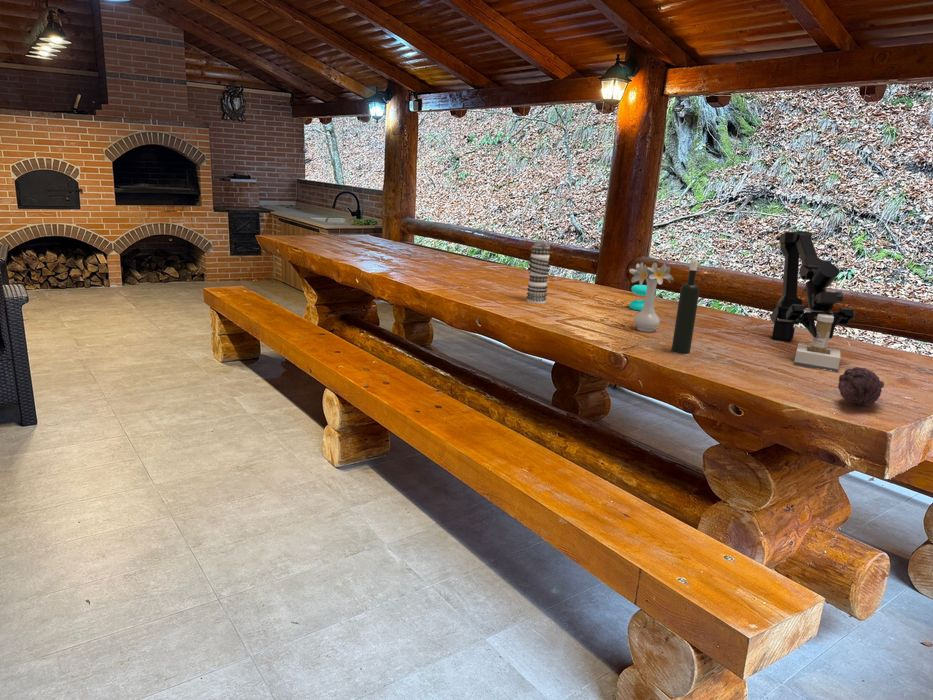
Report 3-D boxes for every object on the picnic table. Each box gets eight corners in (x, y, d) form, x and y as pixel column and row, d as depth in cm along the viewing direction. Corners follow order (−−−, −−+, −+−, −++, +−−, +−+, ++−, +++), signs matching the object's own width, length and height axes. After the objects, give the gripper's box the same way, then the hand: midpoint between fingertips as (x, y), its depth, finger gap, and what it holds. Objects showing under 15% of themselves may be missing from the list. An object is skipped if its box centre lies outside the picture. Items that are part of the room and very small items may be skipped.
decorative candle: (523, 299, 282) (527, 241, 276) (543, 299, 284) (548, 242, 277) (528, 303, 274) (533, 244, 267) (549, 303, 275) (555, 245, 269)
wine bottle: (691, 351, 211) (705, 259, 203) (687, 354, 206) (702, 261, 198) (673, 348, 213) (687, 257, 205) (669, 351, 209) (683, 259, 201)
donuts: (635, 283, 279) (658, 286, 275) (632, 305, 282) (655, 309, 277) (628, 286, 271) (652, 289, 266) (626, 309, 274) (649, 312, 269)
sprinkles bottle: (806, 355, 204) (815, 314, 200) (813, 353, 206) (822, 312, 203) (821, 359, 200) (830, 317, 196) (828, 357, 203) (837, 315, 199)
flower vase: (637, 322, 248) (646, 258, 242) (675, 334, 233) (685, 265, 227) (612, 325, 241) (620, 258, 235) (649, 337, 226) (659, 266, 220)
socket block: (793, 364, 201) (796, 351, 200) (795, 356, 211) (798, 343, 210) (837, 372, 196) (840, 358, 195) (837, 363, 206) (840, 349, 205)
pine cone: (863, 418, 157) (872, 379, 154) (820, 406, 164) (828, 368, 161) (887, 404, 168) (896, 368, 165) (846, 393, 175) (854, 358, 173)
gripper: (796, 279, 202) (801, 321, 194) (859, 283, 199) (867, 326, 192) (783, 298, 211) (787, 339, 204) (843, 303, 209) (850, 345, 202)
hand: (823, 337), depth 200 cm, fingers closed on sprinkles bottle, 4 cm apart
